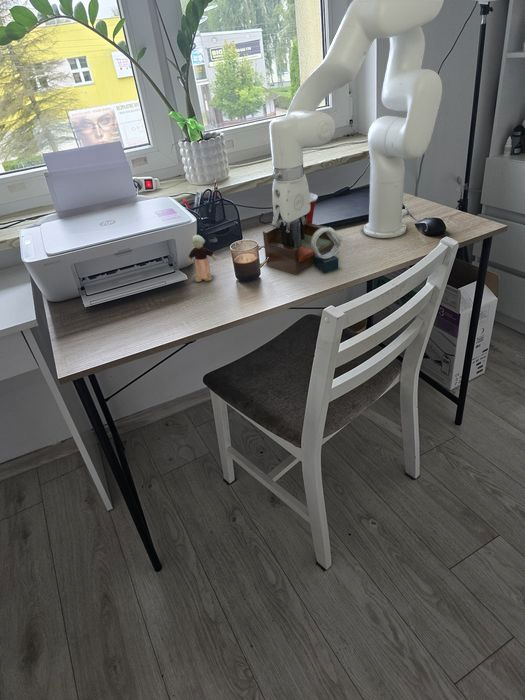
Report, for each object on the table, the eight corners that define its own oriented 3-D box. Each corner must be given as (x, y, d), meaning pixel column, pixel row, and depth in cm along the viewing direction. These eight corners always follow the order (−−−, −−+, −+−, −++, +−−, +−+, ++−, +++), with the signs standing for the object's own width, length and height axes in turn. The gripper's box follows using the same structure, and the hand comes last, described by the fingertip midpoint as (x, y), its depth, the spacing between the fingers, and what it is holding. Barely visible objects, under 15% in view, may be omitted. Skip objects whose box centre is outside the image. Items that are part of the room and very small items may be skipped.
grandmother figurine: (192, 284, 125) (182, 240, 118) (191, 278, 128) (182, 234, 121) (220, 279, 126) (212, 235, 118) (218, 273, 129) (211, 230, 122)
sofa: (304, 244, 139) (303, 211, 133) (334, 251, 132) (334, 217, 127) (266, 265, 130) (262, 231, 124) (296, 275, 123) (293, 239, 117)
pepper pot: (305, 244, 126) (303, 216, 121) (294, 250, 123) (292, 221, 119) (292, 241, 128) (290, 213, 124) (282, 247, 126) (279, 218, 121)
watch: (344, 267, 124) (344, 227, 118) (318, 275, 122) (316, 235, 115) (334, 259, 128) (333, 221, 122) (308, 267, 126) (306, 228, 120)
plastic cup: (326, 234, 144) (325, 195, 137) (295, 243, 140) (293, 204, 133) (307, 224, 152) (306, 187, 145) (279, 232, 148) (275, 195, 141)
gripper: (276, 184, 108) (283, 256, 118) (321, 165, 117) (323, 233, 127) (254, 180, 112) (262, 250, 123) (298, 162, 121) (302, 228, 132)
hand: (293, 241), depth 125 cm, fingers closed on pepper pot, 4 cm apart
